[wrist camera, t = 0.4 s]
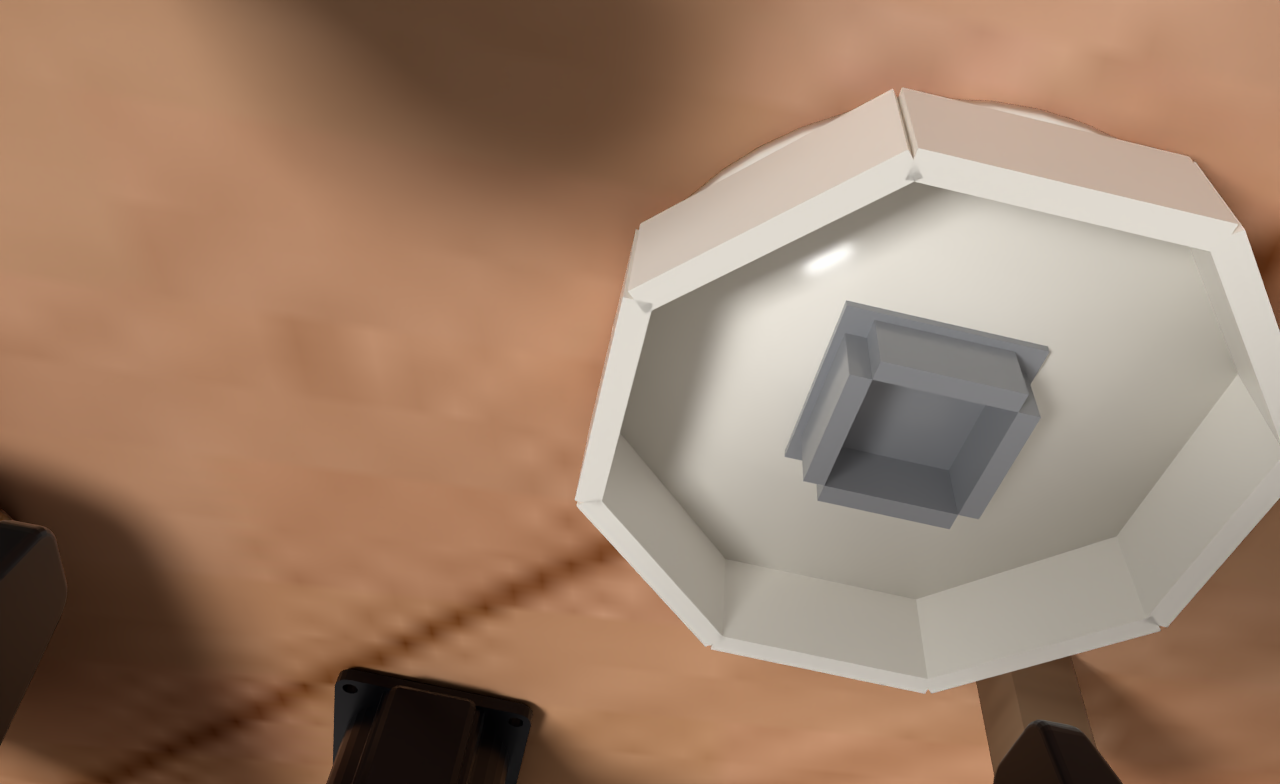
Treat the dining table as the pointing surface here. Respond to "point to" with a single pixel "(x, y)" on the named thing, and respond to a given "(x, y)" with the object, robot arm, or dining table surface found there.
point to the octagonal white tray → (936, 395)
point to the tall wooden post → (1030, 703)
